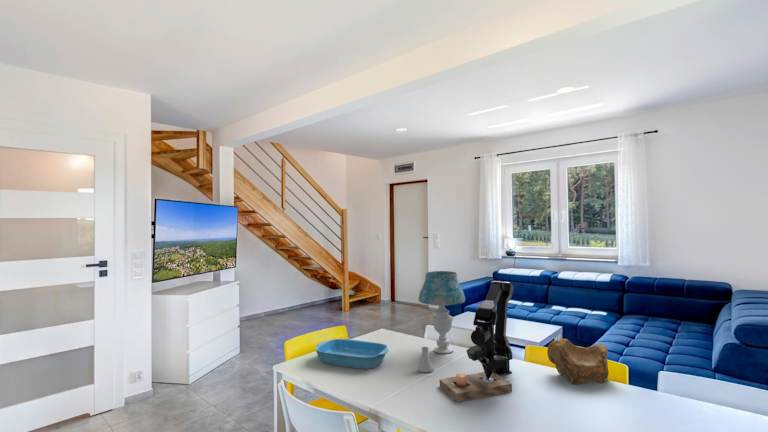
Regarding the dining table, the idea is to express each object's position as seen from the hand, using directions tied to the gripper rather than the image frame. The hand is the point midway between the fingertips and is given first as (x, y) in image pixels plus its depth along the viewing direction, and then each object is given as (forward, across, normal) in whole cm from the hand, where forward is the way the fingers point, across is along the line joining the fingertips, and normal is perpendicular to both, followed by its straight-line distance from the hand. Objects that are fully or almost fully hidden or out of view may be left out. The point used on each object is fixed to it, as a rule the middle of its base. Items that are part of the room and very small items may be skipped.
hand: (488, 377), depth 152 cm
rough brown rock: (+4, +8, +38) cm, 39 cm away
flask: (+4, -25, -16) cm, 30 cm away
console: (+3, 0, -6) cm, 7 cm away
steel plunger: (+3, 0, 0) cm, 3 cm away
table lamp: (+4, -45, +3) cm, 45 cm away
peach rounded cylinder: (+1, 0, -12) cm, 12 cm away
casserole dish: (+4, -49, -44) cm, 66 cm away
